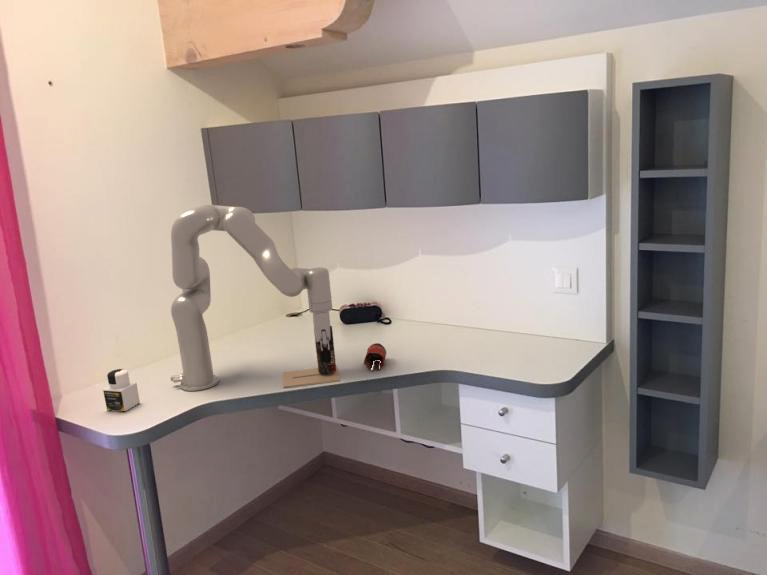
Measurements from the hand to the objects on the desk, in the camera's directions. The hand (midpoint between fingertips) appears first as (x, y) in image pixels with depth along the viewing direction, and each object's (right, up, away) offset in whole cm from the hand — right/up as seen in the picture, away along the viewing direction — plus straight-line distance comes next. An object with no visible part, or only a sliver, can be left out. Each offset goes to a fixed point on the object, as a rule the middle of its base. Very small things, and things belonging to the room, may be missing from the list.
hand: (325, 357), depth 216 cm
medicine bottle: (-62, -14, -11) cm, 65 cm away
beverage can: (+17, -4, +7) cm, 18 cm away
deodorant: (0, -5, +1) cm, 5 cm away
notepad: (-5, -7, +1) cm, 8 cm away
